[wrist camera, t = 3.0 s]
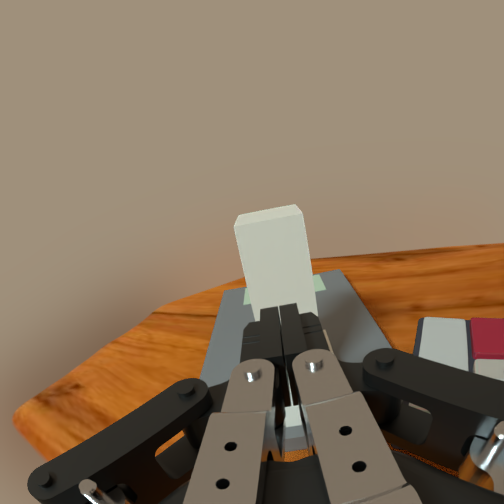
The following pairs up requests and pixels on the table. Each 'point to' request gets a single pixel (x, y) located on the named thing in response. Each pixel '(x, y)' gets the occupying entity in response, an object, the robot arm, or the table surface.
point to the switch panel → (332, 320)
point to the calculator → (462, 345)
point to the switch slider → (276, 260)
